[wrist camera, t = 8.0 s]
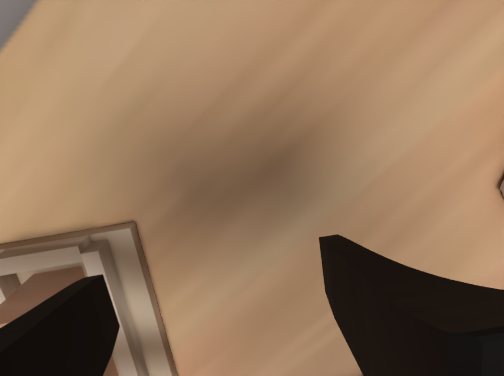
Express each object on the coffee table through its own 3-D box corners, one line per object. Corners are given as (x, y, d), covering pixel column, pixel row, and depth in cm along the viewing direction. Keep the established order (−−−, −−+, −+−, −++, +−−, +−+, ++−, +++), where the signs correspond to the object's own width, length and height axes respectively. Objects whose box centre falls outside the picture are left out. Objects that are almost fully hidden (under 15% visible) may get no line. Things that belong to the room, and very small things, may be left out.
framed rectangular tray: (188, 415, 26) (183, 448, 24) (58, 437, 26) (40, 472, 24) (134, 221, 22) (122, 238, 19) (-23, 248, 22) (-55, 268, 19)
